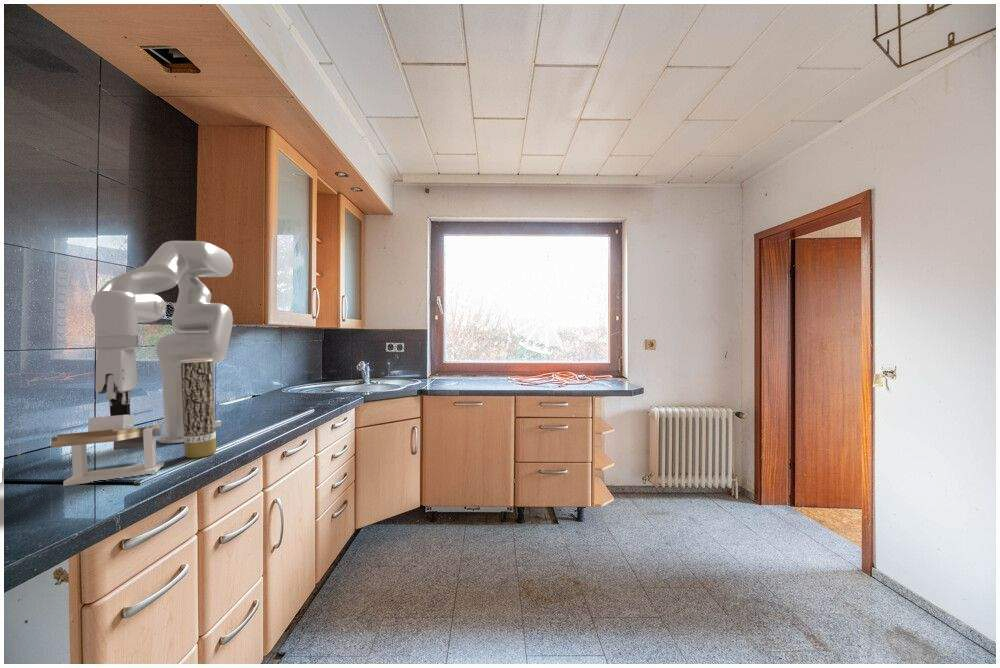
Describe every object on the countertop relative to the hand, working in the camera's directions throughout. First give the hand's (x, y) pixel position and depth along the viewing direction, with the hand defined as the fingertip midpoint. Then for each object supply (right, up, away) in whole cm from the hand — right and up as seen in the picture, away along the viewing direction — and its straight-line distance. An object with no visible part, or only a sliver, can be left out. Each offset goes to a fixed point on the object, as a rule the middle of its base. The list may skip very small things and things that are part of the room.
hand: (120, 421), depth 101 cm
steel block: (+2, -2, -5) cm, 6 cm away
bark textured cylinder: (+11, -11, +11) cm, 19 cm away
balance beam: (+2, -6, -4) cm, 8 cm away
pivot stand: (+2, -12, -3) cm, 12 cm away
